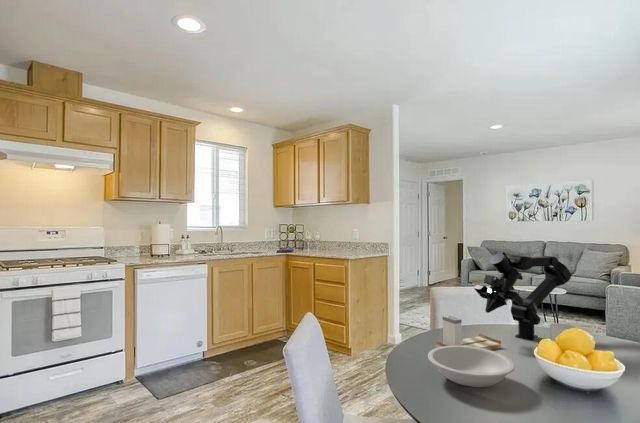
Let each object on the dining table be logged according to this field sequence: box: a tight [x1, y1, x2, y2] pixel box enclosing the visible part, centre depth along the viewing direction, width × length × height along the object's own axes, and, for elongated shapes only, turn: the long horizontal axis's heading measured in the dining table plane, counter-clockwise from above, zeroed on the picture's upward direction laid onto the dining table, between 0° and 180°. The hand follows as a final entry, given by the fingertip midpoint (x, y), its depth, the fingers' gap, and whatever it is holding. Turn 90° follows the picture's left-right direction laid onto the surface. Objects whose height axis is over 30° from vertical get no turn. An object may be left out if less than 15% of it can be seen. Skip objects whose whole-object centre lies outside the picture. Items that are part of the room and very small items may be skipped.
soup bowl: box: [427, 346, 516, 388], centre depth 112 cm, size 24×24×7 cm
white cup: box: [549, 322, 577, 341], centre depth 134 cm, size 8×8×10 cm
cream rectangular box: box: [442, 315, 463, 346], centre depth 138 cm, size 3×6×10 cm, turn 23°
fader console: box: [435, 333, 502, 351], centre depth 141 cm, size 22×10×2 cm, turn 113°
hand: (486, 311), depth 145 cm, fingers closed
